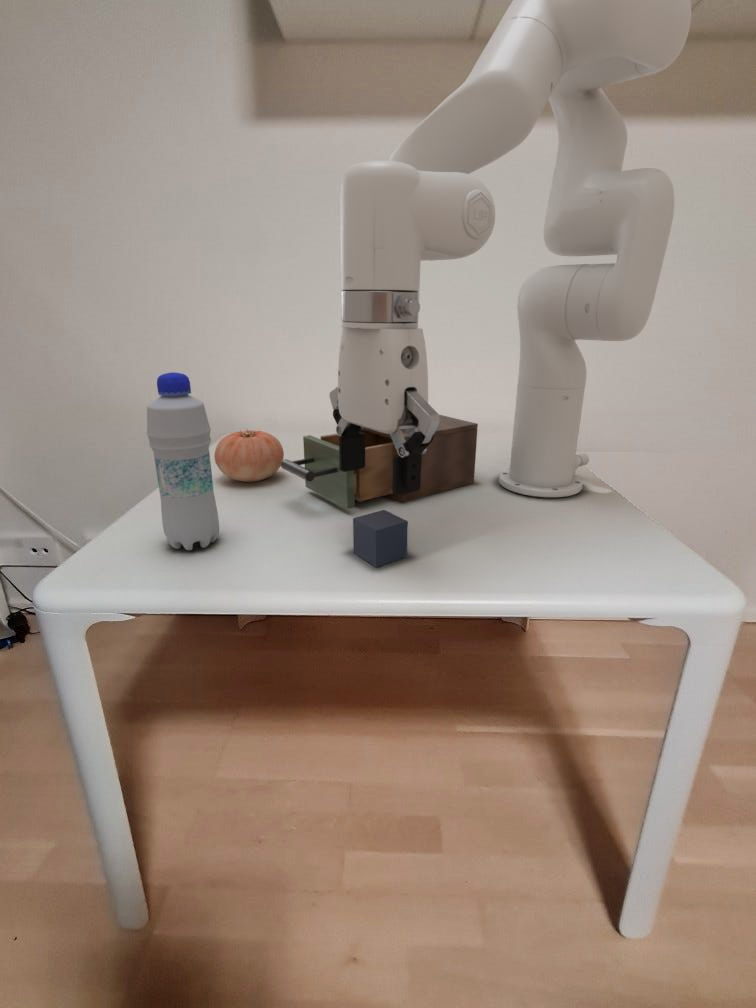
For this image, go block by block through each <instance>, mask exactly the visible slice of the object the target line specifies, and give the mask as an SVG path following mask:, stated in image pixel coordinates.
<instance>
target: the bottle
mask: <svg viewBox="0 0 756 1008" xmlns="http://www.w3.org/2000/svg"><path fill="white" fill-rule="evenodd" d="M156 388H157V393H158V396H159V397H157V398H155V399H154V400H152V401H151V402H149V403H148V404H147V405H146V436H147V438H148V441H149V443H148V446H149V447H150V449H151V450H152V452H153V458H154V464H155V465H154V466H155V471H156V478H157V484H158V490H159V491H158V492H159V496H160V509H161V523H162V529H163V533H164V535H165V537H166V540H167V542H168V544H169V545H170V546H171V547H172V548H173V549H176V550H177V549H181V547H182V546H183V549H185V551H192V550H193V548H194V543H196V542H199V546H200V547H201V548H203V549H204V548H207V547H208V546H209V545H210V543H214V542H215V541H216V540H217V539H218V537H219V533H220V521H219V520H220V519H219V512H218V506H217V502H216V496H215V491H214V481H213V480H214V479H213V472H212V464H211V454H210V445H211V441H212V438H211V430H212V429H211V426H210V423H209V418H208V415H207V410H206V407H205V404H204V402H203V401H202V400H201V399H198V398H196V397H194V396H191V395H190V394H192V388H191V381H190V378H189V376H188V375H186V374H185V373H182V372H181V373H180V372H175V371H174V372H172V371H171V372H167V373H162V374H160V375H159V376H158V377H157V379H156Z"/></svg>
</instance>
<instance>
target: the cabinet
mask: <svg viewBox="0 0 756 1008" xmlns="http://www.w3.org/2000/svg"><path fill="white" fill-rule="evenodd" d="M439 416H440V422H439V425H438V427H437V429H436V431H435V434H433V436H434V439H433V441H432V442H431V443H430V445H429V446H428V447H427V451H426V453H424V454H422V460H421V484H420V489H419V490H418V491H415V492H411V493H407V494H402V495H396V494H394V493H391V494H387V495H386V496H387V497H389V498H391V499H393V500H395V501H398V502H400V503H405V502H409V501H413V500H418V499H421V498H425V497H428V496H429V497H430V496H432V495H436V494H440V493H443V492H446V491H451V490H454V489H458V488H462V487H466V486H470V485H473V484H475V473H476V471H475V470H476V457H477V441H478V426H479V424H478V423H477V422H472V421H468V420H464V419H460V418H457V417H456V418H455V417H451V416H446V415H444V414H443V415H442V414H439ZM363 430H365V431H368V432H371V433H374V434H378V435H381V436H384V437H387V438H390V439H391V436H390V434H386V433H381V432H378V431H375V430H371V429H368V428H365V427H364V428H363ZM403 436H404V438H405V441H406V442H407V441H408V439H409V438H410V437H409V435H408V433H407V434H403Z"/></svg>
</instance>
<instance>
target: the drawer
mask: <svg viewBox="0 0 756 1008" xmlns="http://www.w3.org/2000/svg"><path fill="white" fill-rule="evenodd" d="M361 433H364V434H365V467H364V468H362V469H357V470H352V471H347V472H343V471H341V470H340V468H339V437H341V436H339V435H338V434H337V433H331V434H325V435H320V438H319V437H316V436H313V435H310V434H309V435H304V436H303V437H302V439H303V440H302V441H303V442H302V443H303V458H302V459H297V460H292V461H291V460H290V459H286V458H285V459H284V458H283V461H282V462H281V466H280V468H281V469H283V470H285V471H287V472H289V473H291V474H293V475H295V476H296V477H299V478H301V479H303V480H304V481H305V487H306V488H307V489H308V490H311V491H313V492H314V493H316V494H318V495H320V496H322V497H324V498H326V499H328V500H330V502H331V501H332V502H333V503H335V504H337V505H339V506H341V507H343V508H345V509H347V510H348V509H352V508H355V501H358V502H364V501H367V500H371V499H375V498H379V497H384V496H387V494H391V493H393V490H392V489H393V457H394V456H396V455H398V452H397V450H396V448H395V445H394V443H393V441H392V439H390V438H387V437H384V436H381V435H378V434H374V433H371V432H368V431H365V430H362V431H361ZM361 433H359V434H361ZM302 465H304V466H302Z"/></svg>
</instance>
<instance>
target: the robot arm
mask: <svg viewBox="0 0 756 1008" xmlns="http://www.w3.org/2000/svg"><path fill="white" fill-rule="evenodd" d="M691 22H692V2H691V0H512V1H511V3H510V4H509V6H508V8H507V9H506V11H505V13H504V15H503V16H502V18H501V19H500V21H499V23H498V25H497V26H496V27H495V30H494V31H493V33H492V35H491V36H490V38H489V40H488V42H487V43H486V45H485V47H484V48H483V51H482V52H481V53H480V55H479V56H478V59H477V60H476V62H475V64H474V66H473V68H471V69H472V70H471V71H470V73H469V75H468V76H467V78H466V79H465V80H464V82H463V83H462V84H461V85H459V87H458V88H456V89H455V90H454V91H453V92H452V93H450V94H449V95H447V97H446V98H445V99H443V101H442V102H440V103H439V105H437V106H436V107H435V108H434V110H433V111H431V112H430V113H429V114H428V115H427V116H426V117H425V118H424V119H423V120H422V121H421V122H419V123H418V124H417V125H416V126H415V127H414V128H413V129H412V130H411V131H410V132H409V133H408V134H407V135H406V136H405V137H404V138H403V139H402V140H401V141H400V142H399V143H398V145H397V146H396V147H395V148H394V150H393V151H392V152H391V153H390V155H389V156H388V158H387V159H386V160H385V159H384V160H383V159H379V160H378V159H377V160H375V159H374V160H366V161H360V162H357V163H354V164H352V165H350V166H349V167H347V168H346V169H345V170H344V171H343V174H342V176H341V179H340V185H339V186H340V188H339V190H340V191H339V192H340V193H339V203H340V205H339V206H340V207H339V208H340V210H339V218H340V219H339V220H340V221H339V223H340V227H339V228H340V290H341V292H340V298H341V299H340V305H341V306H340V307H341V308H340V312H341V313H340V314H341V316H340V317H341V318H340V319H341V333H340V334H341V335H340V342H339V352H338V369H337V371H338V372H337V373H338V374H337V386H336V387H335V388H334V389H332V390H331V391H330V392H329V400H330V404H331V407H332V410H333V411H332V417H333V420H334V421H335V423H336V426H335V432H336V434H338V435H339V436H341V437H339V468H340V470H341V471H343V472H347V471H352V470H357V469H362V468H364V467H365V434H364V433H361V431H362V430H363V428H364V427H365V428H368V429H371V430H375V431H378V432H381V433H386V434H390V436H391V439H392V441H393V443H394V445H395V448H396V450H397V452H398V455H396V456H394V457H393V489H392V490H393V493H394V494H396V495H402V494H407V493H411V492H415V491H418V490H419V489H420V484H421V460H422V454H424V453H426V451H427V447H428V446H429V445H430V443H431V442H432V441H433V439H434V436H433V434H435V431H436V429H437V427H438V425H439V422H440V416H439V415H440V414H439V413H438V412H437V411H436V410H435V408H433V407H432V406H431V404H429V376H428V375H429V371H428V357H427V348H426V341H425V340H426V339H425V334H424V329H423V328H420V327H419V317H420V315H419V313H420V310H421V305H420V289H421V287H420V286H421V285H420V283H421V262H423V261H429V262H430V261H431V262H433V261H434V262H435V261H449V260H458V259H463V258H466V257H469V256H471V255H473V254H475V253H477V252H478V251H480V250H481V249H482V248H483V247H484V246H485V245H486V244H487V243H488V241H489V239H490V237H491V235H492V233H493V231H494V227H495V225H496V223H495V222H496V206H495V201H494V198H493V196H492V194H491V191H490V190H489V189H488V187H487V186H486V185H485V184H484V183H483V182H482V180H480V179H479V178H477V177H476V176H474V175H472V174H471V173H473V172H476V171H477V170H479V169H481V168H484V167H485V166H488V165H490V164H492V163H493V162H495V161H497V160H500V158H502V157H503V156H505V155H507V154H508V153H510V152H511V151H513V150H514V149H515V148H517V147H518V146H519V145H521V144H522V143H523V142H524V141H525V140H526V139H527V138H528V136H529V135H530V134H531V133H532V130H533V129H534V126H536V123H537V121H538V119H539V118H540V115H541V114H542V112H543V110H544V108H545V106H546V104H547V103H548V102H549V105H550V108H551V111H552V114H553V118H554V121H555V124H556V129H557V134H558V138H557V139H558V144H557V145H558V146H557V153H556V158H555V159H556V160H555V164H554V170H553V175H552V180H551V187H550V191H549V196H548V201H547V207H546V211H545V218H544V225H543V241H544V245H545V247H546V248H547V249H548V251H549V252H551V253H553V255H557V256H561V257H594V256H597V257H598V256H614V255H615V256H616V261H615V262H611V263H591V264H590V263H582V264H581V263H579V264H577V263H576V264H558V265H550V266H546V267H543V268H540V269H537V270H535V271H534V272H532V273H531V274H529V275H528V276H527V277H526V278H525V279H524V281H523V283H522V284H521V286H520V289H519V292H518V295H517V307H516V308H517V319H518V330H519V364H518V377H517V387H516V396H515V397H516V398H515V407H514V408H515V409H514V420H513V431H512V439H511V453H510V463H509V468H506V469H504V470H502V471H501V472H500V473H499V475H498V484H500V485H501V487H503V488H504V489H506V490H508V491H510V492H513V493H517V494H520V495H524V496H529V497H536V498H564V497H570V496H574V495H576V494H578V493H580V492H581V491H582V490H583V484H584V481H583V479H582V478H581V477H580V476H578V475H576V470H577V469H578V468H580V467H583V466H586V465H588V464H589V463H590V458H589V456H588V454H586V453H580V454H577V448H578V442H579V434H580V426H581V418H582V412H583V404H584V397H585V396H584V395H585V389H586V384H587V375H588V374H587V373H588V372H587V366H586V365H587V364H586V361H585V359H584V355H583V354H582V352H581V350H580V348H579V346H578V344H577V342H576V341H577V340H580V341H581V340H582V341H598V342H599V341H600V342H625V341H629V340H632V339H634V338H636V337H638V335H640V334H641V332H642V331H643V330H644V328H645V327H646V325H647V322H648V320H649V318H650V315H651V313H652V308H653V305H654V301H655V296H656V293H657V289H658V286H659V285H658V284H659V281H660V277H661V272H662V268H663V264H664V260H665V256H666V251H667V246H668V243H669V238H670V234H671V230H672V224H673V221H674V214H675V213H674V212H675V189H674V186H673V185H674V184H673V182H672V180H671V178H670V176H669V175H668V174H667V173H666V172H665V171H663V170H661V169H659V168H654V167H642V168H635V169H634V168H633V169H628V170H627V169H626V170H623V165H624V159H625V155H626V150H627V146H628V131H627V126H626V124H625V122H624V120H623V118H622V116H621V114H620V113H619V111H618V110H617V108H616V107H615V105H613V103H612V102H611V101H610V99H609V98H608V97H607V95H606V94H605V91H603V89H602V88H605V87H609V86H614V85H617V84H621V83H624V82H627V81H628V82H629V81H632V80H635V79H639V78H643V77H647V76H652V75H655V74H657V73H661V72H662V71H664V70H666V69H667V68H668V67H670V66H671V65H672V64H673V63H674V62H675V61H676V60H677V59H678V57H679V56H680V55H681V52H682V51H683V49H684V47H685V44H686V42H687V39H688V37H689V34H690V28H691ZM359 433H361V434H359ZM407 433H408V435H409V437H410V438H409V439H408V441H407V442H406V441H405V438H404V436H403V434H407Z"/></svg>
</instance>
